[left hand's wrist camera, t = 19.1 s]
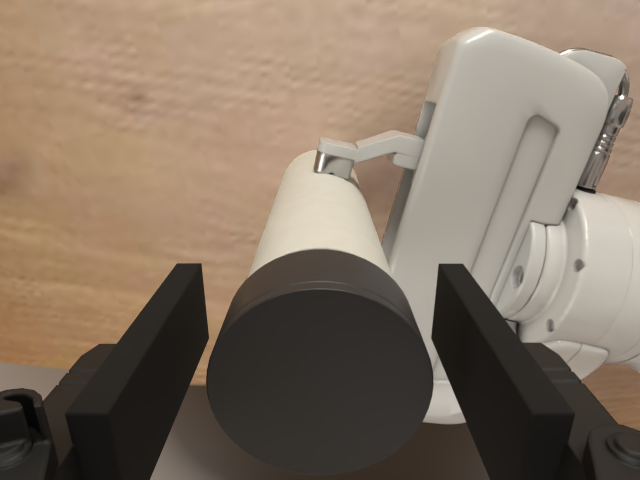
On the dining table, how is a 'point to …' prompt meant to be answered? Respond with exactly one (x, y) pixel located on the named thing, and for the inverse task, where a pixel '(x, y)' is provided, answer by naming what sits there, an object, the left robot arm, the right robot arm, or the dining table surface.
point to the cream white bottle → (318, 217)
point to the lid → (319, 365)
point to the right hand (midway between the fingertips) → (302, 214)
